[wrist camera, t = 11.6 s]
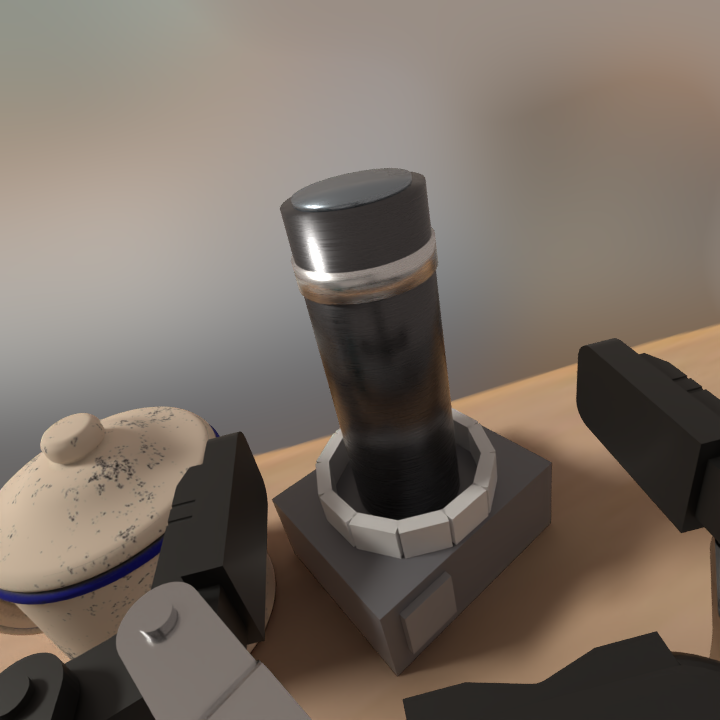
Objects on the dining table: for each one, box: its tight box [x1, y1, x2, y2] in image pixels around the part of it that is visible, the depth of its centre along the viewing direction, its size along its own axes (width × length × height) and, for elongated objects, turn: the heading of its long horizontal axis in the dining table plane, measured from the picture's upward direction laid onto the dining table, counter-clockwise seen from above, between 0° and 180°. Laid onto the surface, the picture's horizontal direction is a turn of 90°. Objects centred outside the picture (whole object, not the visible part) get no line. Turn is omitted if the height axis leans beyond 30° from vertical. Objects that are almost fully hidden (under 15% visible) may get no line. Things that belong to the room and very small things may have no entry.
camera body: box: [272, 408, 552, 676], centre depth 23 cm, size 10×8×6 cm
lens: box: [280, 168, 460, 520], centre depth 19 cm, size 5×5×13 cm
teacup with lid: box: [0, 407, 276, 660], centre depth 20 cm, size 12×9×12 cm
